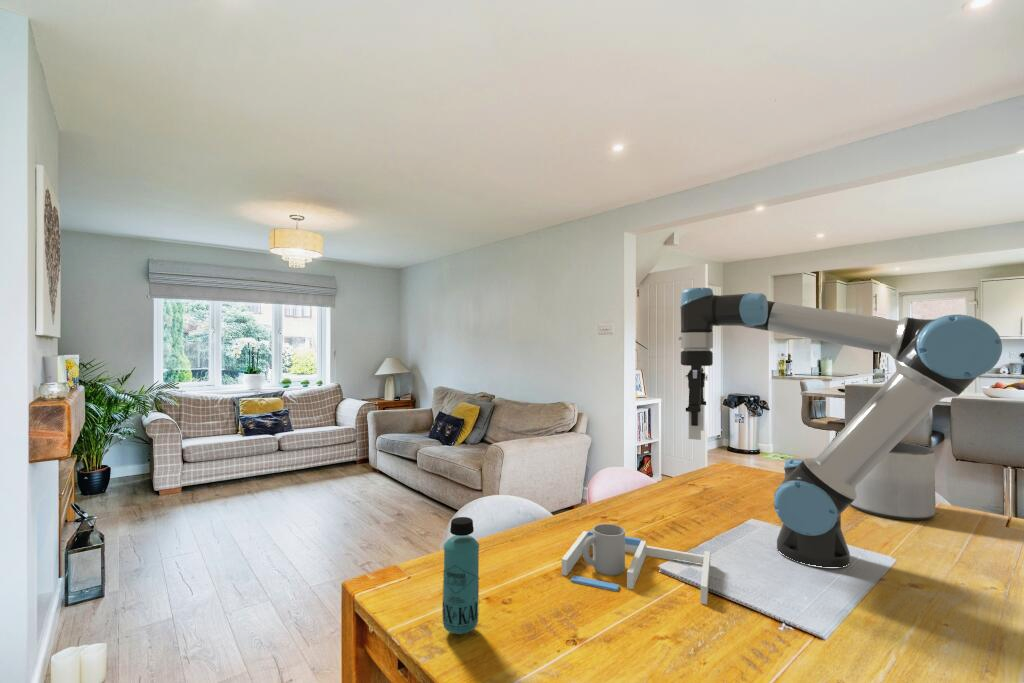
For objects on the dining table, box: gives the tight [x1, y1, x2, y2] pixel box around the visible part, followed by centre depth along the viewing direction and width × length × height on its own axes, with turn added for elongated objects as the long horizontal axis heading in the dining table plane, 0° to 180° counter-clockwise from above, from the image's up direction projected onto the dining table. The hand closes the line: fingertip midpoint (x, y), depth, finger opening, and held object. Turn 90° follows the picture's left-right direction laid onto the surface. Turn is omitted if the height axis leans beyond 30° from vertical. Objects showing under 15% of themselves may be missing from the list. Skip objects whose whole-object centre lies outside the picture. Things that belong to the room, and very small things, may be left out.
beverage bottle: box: [441, 516, 480, 635], centre depth 86 cm, size 6×7×20 cm
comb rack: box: [561, 530, 711, 606], centre depth 109 cm, size 30×21×4 cm
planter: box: [849, 441, 937, 521], centre depth 152 cm, size 23×23×20 cm
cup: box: [582, 523, 626, 577], centre depth 110 cm, size 7×10×9 cm
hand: (696, 434), depth 122 cm, fingers open, 13 cm apart
